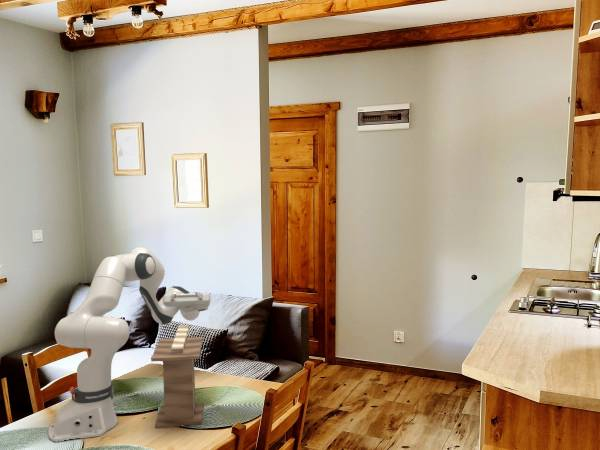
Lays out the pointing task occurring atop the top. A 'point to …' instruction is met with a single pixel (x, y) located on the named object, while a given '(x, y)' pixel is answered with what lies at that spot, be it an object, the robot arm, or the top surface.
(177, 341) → the birch slat
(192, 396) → the walnut stand
